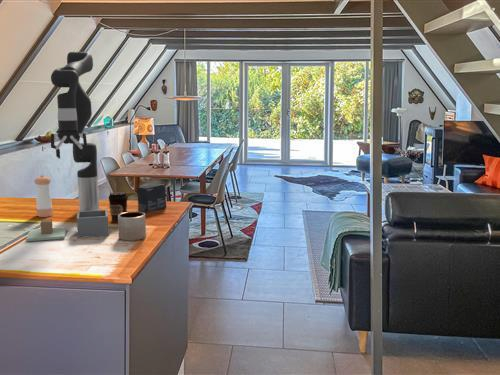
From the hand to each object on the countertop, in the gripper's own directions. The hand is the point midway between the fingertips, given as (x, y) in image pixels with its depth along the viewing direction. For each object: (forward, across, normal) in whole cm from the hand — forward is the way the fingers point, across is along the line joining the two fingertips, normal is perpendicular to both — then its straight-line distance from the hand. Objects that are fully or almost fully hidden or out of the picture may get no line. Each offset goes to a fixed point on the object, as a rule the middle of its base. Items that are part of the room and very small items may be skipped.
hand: (70, 157), depth 214 cm
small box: (+30, -36, -25) cm, 53 cm away
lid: (+30, +10, +11) cm, 33 cm away
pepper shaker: (+30, +14, -25) cm, 42 cm away
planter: (+30, -23, +22) cm, 44 cm away
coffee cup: (+30, -19, -5) cm, 36 cm away
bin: (+30, -8, +11) cm, 33 cm away
